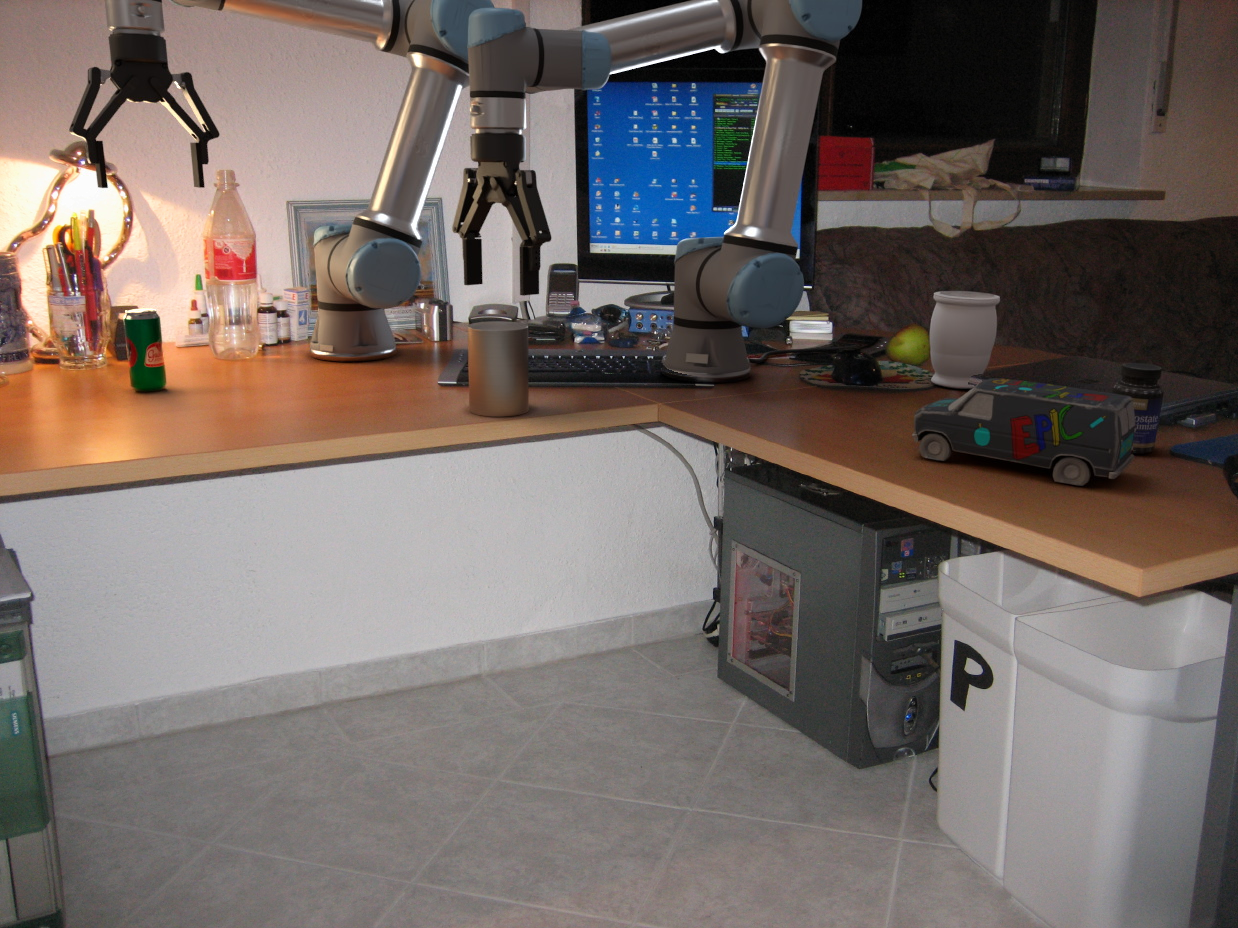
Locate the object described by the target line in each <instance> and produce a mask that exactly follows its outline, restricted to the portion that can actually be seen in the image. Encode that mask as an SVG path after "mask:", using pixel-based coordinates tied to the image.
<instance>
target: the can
mask: <svg viewBox="0 0 1238 928" xmlns="http://www.w3.org/2000/svg"><path fill="white" fill-rule="evenodd" d="M467 354H468V355H467V359H468V360H467V363H468V408H469V412H470V413H472V414H474V415H477V416H482V417H489V418H490V417H493V418H503V417H514V416H515V417H516V416H519V415H524V414H526V413H528V412H529V410H530V402H529V401H530V399H529V398H530V395H529V394H530V391H529V389H530V386H529V384H530V380H529V377H530V376H529V375H530V374H529V373H530V372H529V324H526V323H523V322H518V321H505V320H504V321H502V320H497V321H496V320H494V321H493V320H492V321H490V320H489V321H479V322H473V323H470V324H468V325H467Z"/></svg>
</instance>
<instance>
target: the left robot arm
mask: <svg viewBox="0 0 1238 928" xmlns="http://www.w3.org/2000/svg"><path fill="white" fill-rule="evenodd" d="M168 1H169V2H170V3H171V4H173V5H176V6H178V7H184V8H194V7H197V8H204V9H208V10H211V11H212V10H213V11H219V12H224V13H230V14H233V15H234V14H235V15H238V16H244V17H248V18H252V19H257V20H262V21H266V22H267V21H268V22H271V23H277V24H282V25H286V26H291V27H294V28H300V29H304V30H309V31H315V32H318V33H323V34H329V35H333V36H337V37H342V38H347V39H352V40H357V41H361V42H364V43H370V44H371V45H372V46H373V48H374V49H375V50H376V51H379V52H383V53H387V54H392V55H395V56H398V57H402V58H406V59H407V62H408V63H409V66H410V67H411V71H410V75H409V78H408V80H407V84H406V87H405V89H404V94H403V97H402V100H401V103H400V106H399V109H398V113H397V115H396V118H395V121H394V125H393V128H392V131H391V134H390V138H389V141H388V144H387V146H386V150H385V153H384V156H383V159H382V162H381V165H380V168H379V172H378V174H377V178H376V181H375V184H374V188H373V190H372V194H371V196H370V201H369V202H368V206H367V208H366V209H365V210H363V211H361V212H360V213H359V212H358V213H357V214H355V216H354V218H353V222H352V224H351V223H350V224H349V223H348V224H333V225H323V226H320V227H317V228H316V229H315V231H314V233H313V244H312V249H313V251H314V266H315V268H314V269H315V280H316V297H317V310H318V311H317V316H316V321H315V323H314V327H313V331H312V335H311V338H310V342H309V355H310V356H311V357H312V358H314V359H317V360H323V361H331V362H366V361H376V360H382V359H387V358H390V357H394V356H395V355H396V354H397V344H396V339H395V337H394V333H393V331H392V329H391V325H390V323H389V320H388V317H387V314H386V311H385V309H388V310H389V309H393V308H396V307H399V306H401V305H403V304H404V303H406V302H407V301H409V300H410V299H411V298H412V297H413V296H414V294H415V293H416V292H417V290H418V287H419V285H420V283H421V280H422V279H421V278H422V267H421V263H420V259H419V254H420V251H421V247H422V244H423V241H424V238H423V236H422V234H421V232H420V230H419V223H420V221H421V217H422V214H423V211H424V208H425V205H426V201H427V198H428V196H429V192H430V189H431V186H432V183H433V180H434V177H435V174H436V171H437V168H438V165H439V162H440V158H441V155H442V152H443V149H444V146H445V144H446V140H447V137H448V135H449V130H450V127H451V125H452V121H453V118H454V115H455V112H456V109H457V105H458V102H459V100H460V97H461V94H462V91H463V90H464V89H466V88H468V87H470V84H469V61H468V48H467V44H468V25H469V16H470V14H471V13H472V12H473V11H475V10H477V9H481V8H496V6H495V4H494V3H493V2H492V0H168ZM104 8H105V16H106V18H105V19H106V25H107V26H106V27H107V29H108V30H109V31H111V33H110V34H109V36H108V46H109V55H110V65H111V66H110V69H102V68H100V67H98V66H91V67H89V68H88V69H87V84H86V87H85V89H84V91H83V93H82V97H81V99H80V101H79V104H78V106H77V108H76V111H75V114H74V116H73V118H72V121H71V123H70V126H69V129H68V131H69V133H70V134H71V135H72V136H76V137H79V138H81V139H83V142H84V145H85V154H86V160H87V162H88V164H94V165H95V166H94V167H95V175H96V182H97V188H99V189H108V188H109V186H108V177H107V167H106V159H105V150H104V140H97V138H98V136H99V135H100V134H101V133H102V131H103V130H104V129H105V127H106V126H107V125H108V123H109V122H110V121H111V120H112V119H113V117H114V116H115V114H116V113H117V112H118V111H119V109H120V108H121V107H122V106H123V105H124V104H125V103H126V102H127V101H128V102H130V103H147V104H158V103H160V104H161V105H162V106H163V107H165V109H167V110H168V112H170V114H171V115H172V116H173V117H174V118H175V119H176V121H177V122H178V123H179V124H180V125H181V127H183V128H184V129H185V130H186V132H188V133H189V135H190V136H191V137H192V138H193V139H194V140H195V142H189V144H190V157H191V167H192V177H193V187H194V188H200V189H202V188H205V186H206V185H205V177H204V165H209V161H210V159H209V147H208V145H209V144H208V143H209V141H212V140H214V139H218V138H219V137H220V131H219V129H218V127H217V126H216V124H215V123H214V121H213V119H212V116H211V115H210V113H209V111H208V110H207V108H206V106H205V104H204V103H203V101H202V99H201V97H200V95H199V94H198V92H197V90H196V89H195V85H194V84H195V83H194V79H193V75H192V73H191V72H189V71H185V72H179V73H171V72H170V68H169V61H168V48H167V40H166V39H165V37H164V36H162V35H161V34H164V33H165V32H166V31H165V30H166V29H165V23H164V22H165V21H164V11H163V0H104ZM108 79H109V80H110V82H111V83H112V84H113V85H114V87H115V88H116V90H115V92H114V93H113V94H112V96H111V97H110V99H109V100H108V102H107V103H106V104H105V105H104V107H103V108H102V109H101V111H99V113H98V114H97V115H96V116H95V118H94V119H93V121H92V122H91V123H90V124H89V126H88V127H87V129H86V128H85V126H86V124H87V121H88V118H89V116H90V114H91V111H92V109H93V106H94V104H95V101H96V98H97V96H98V94H99V92H100V88H101V86H102V85H104V84H106V81H107V80H108ZM173 83H174V84H175V85H176V87H177V88H178V89H181V92H182V94H183V96H184V98H185V100H186V101H187V103H188V105H189V106H190V108H191V110H192V112H193V113H194V115H195V117H196V118H197V121H198V123H199V124H200V126H201V127H202V129H201V127H200V126H199V125H198V124H197V123H196V122H195V121H194V120H193V119H192V117H191V116H190V115H189V114H188V113H187V111H185V110H184V108H183V107H182V106H181V105H180V104H179V103H178V101H177V100H176V98H175V97H174V96H173V95H172V93H170V91H168V90H169V89H170V87H171V85H172V84H173Z"/></svg>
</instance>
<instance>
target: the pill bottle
mask: <svg viewBox="0 0 1238 928" xmlns="http://www.w3.org/2000/svg"><path fill="white" fill-rule="evenodd" d="M1162 371H1163V367H1161V366H1158V365H1155V364H1149V363H1142V362H1141V363H1140V362H1126V363H1122V365H1121V369H1120V375H1121V380H1119V381H1116V382H1115V383H1114V384H1113V385H1112V388H1111V393H1112V394H1118V395H1125V396H1130V397H1131V398H1133V405H1134V415H1135V423H1136V431H1135V436H1134V441H1133V450H1132V451H1131V454H1140V455H1141V454H1148V453H1151V452H1153V451H1154V450H1155V448H1156V440H1157V435H1158V428H1159V424H1160V419H1161V418H1160V417H1161V412H1162V407H1163V399H1164V395H1165V391H1164V389H1163V387H1162V386H1161V385H1159V383H1158V381H1159V380H1160V379H1161V377H1162Z"/></svg>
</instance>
